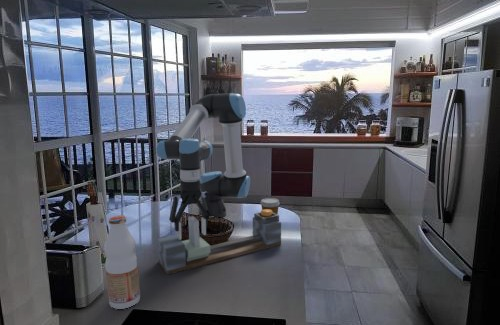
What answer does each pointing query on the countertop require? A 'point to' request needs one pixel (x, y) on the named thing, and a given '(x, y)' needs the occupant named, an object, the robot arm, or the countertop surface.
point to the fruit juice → (121, 265)
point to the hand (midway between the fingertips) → (191, 236)
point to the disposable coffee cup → (270, 204)
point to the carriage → (195, 242)
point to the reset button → (266, 213)
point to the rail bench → (223, 255)
